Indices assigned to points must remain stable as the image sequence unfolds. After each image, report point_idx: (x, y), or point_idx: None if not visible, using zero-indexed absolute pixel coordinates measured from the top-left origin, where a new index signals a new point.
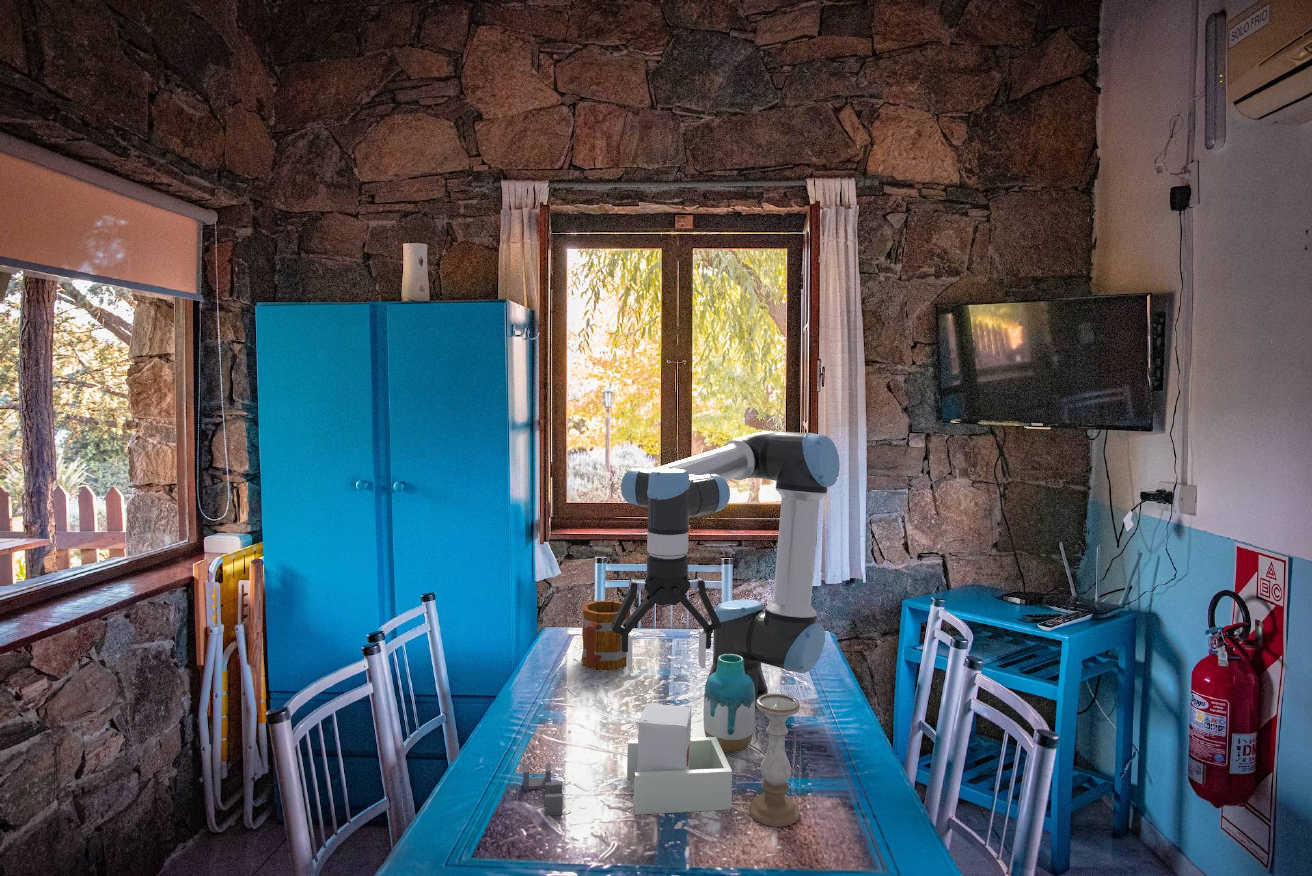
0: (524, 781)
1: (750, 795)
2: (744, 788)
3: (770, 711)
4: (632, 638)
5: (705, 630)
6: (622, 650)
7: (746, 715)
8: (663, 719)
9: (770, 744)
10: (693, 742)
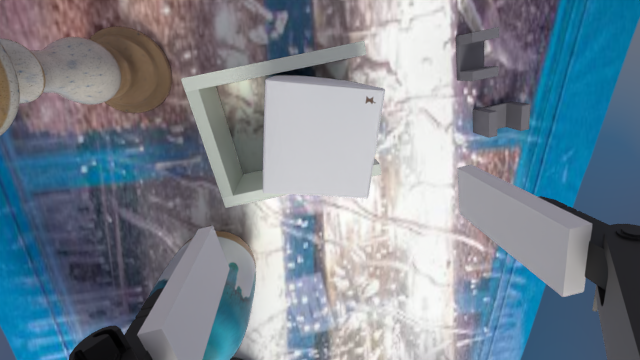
0: (517, 103)
1: (175, 123)
2: (186, 142)
3: None
4: (558, 224)
5: (133, 353)
6: (548, 199)
7: (167, 268)
8: (325, 112)
9: (52, 59)
10: None
